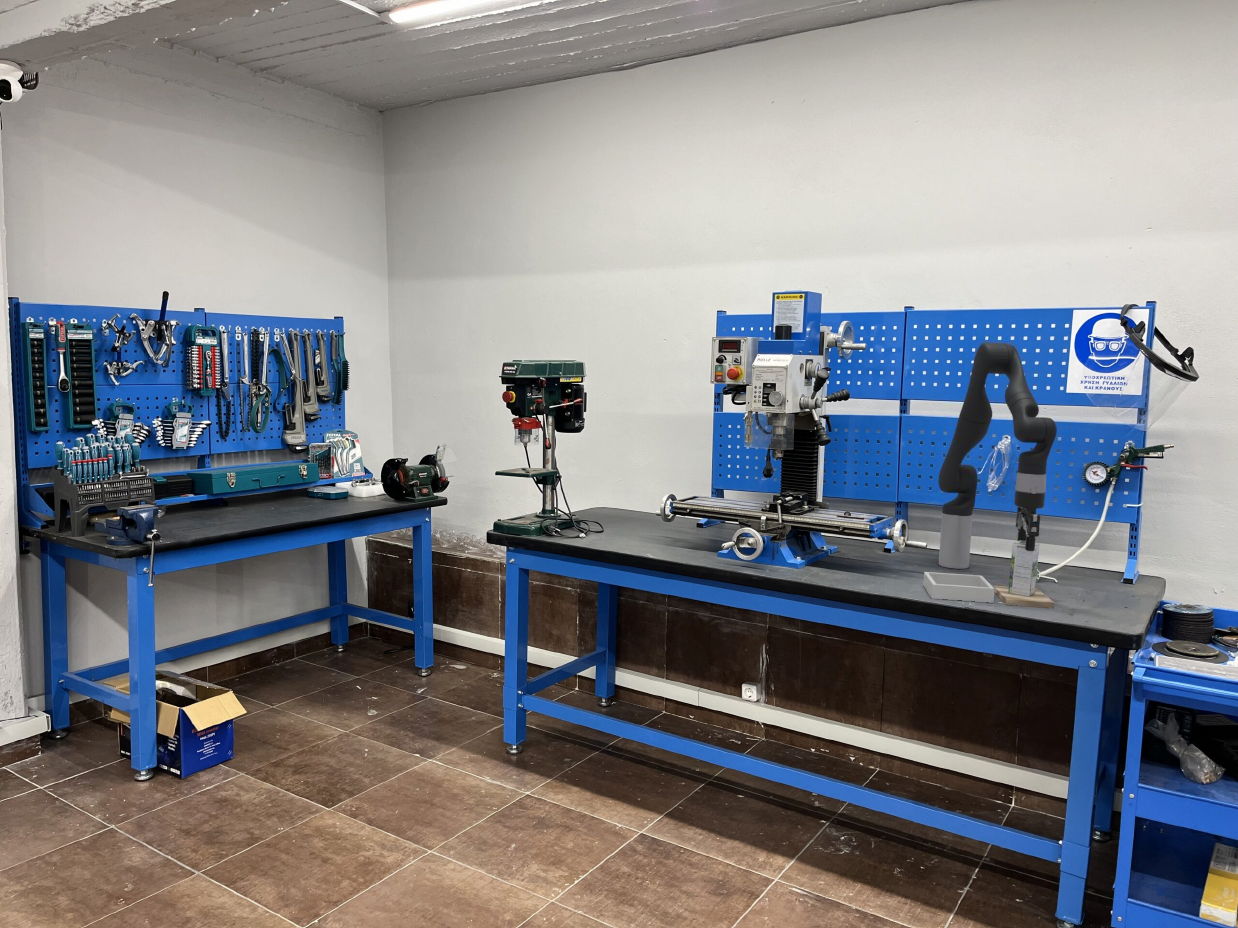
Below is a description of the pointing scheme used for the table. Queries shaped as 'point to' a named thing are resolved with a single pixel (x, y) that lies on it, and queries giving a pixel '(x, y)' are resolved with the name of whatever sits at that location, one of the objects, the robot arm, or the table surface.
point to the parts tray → (958, 587)
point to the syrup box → (1023, 569)
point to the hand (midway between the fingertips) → (1025, 547)
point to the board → (1023, 598)
